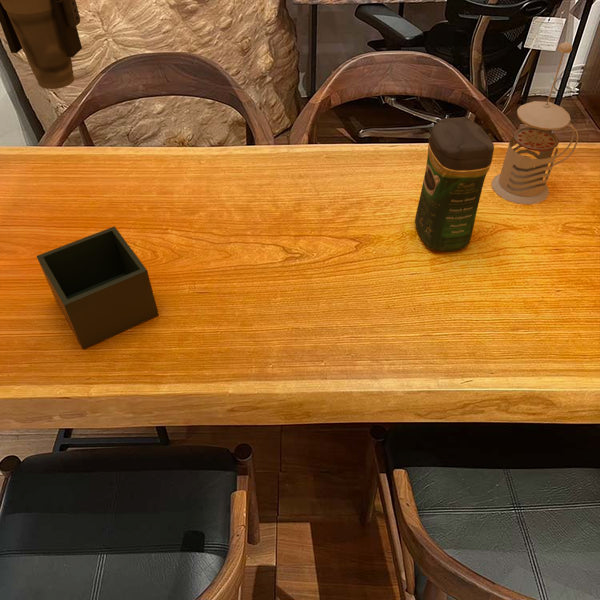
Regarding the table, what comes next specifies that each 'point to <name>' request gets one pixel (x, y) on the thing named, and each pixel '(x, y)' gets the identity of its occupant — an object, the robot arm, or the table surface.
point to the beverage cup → (41, 41)
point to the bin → (99, 286)
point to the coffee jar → (453, 183)
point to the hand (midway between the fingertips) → (46, 50)
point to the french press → (520, 169)
